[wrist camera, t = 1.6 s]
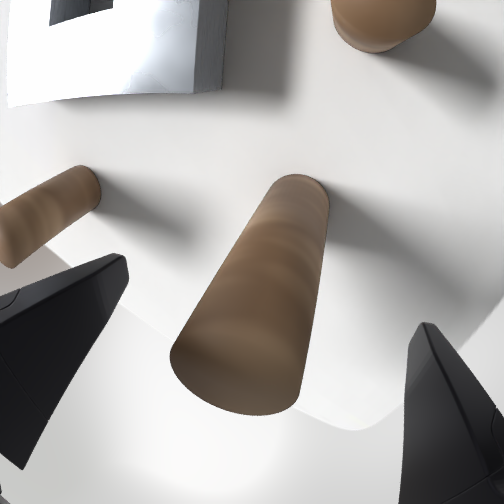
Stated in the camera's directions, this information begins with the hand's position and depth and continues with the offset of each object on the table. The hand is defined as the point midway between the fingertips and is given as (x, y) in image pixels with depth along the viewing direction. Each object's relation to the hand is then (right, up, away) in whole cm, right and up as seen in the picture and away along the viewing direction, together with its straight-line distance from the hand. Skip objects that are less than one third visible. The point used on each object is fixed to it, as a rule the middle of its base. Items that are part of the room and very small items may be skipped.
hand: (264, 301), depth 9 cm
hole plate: (-7, +15, +2) cm, 17 cm away
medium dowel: (-11, +5, +9) cm, 15 cm away
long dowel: (+2, +4, +6) cm, 7 cm away
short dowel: (+4, +11, +1) cm, 12 cm away
